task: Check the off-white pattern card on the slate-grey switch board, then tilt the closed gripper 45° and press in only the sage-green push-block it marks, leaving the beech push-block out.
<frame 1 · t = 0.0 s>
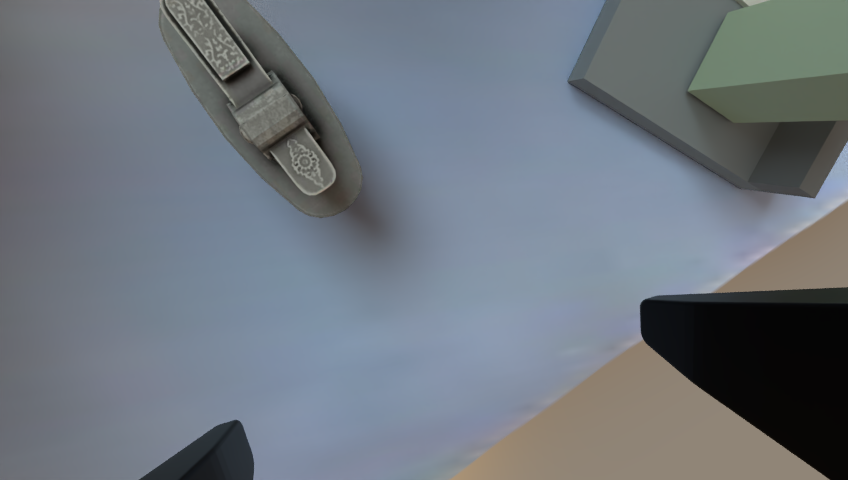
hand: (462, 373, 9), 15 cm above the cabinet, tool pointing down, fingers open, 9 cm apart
sage block: (818, 56, 20), point 6 cm above the cabinet, slide at 0.0 cm
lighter: (284, 116, 21), on the cabinet
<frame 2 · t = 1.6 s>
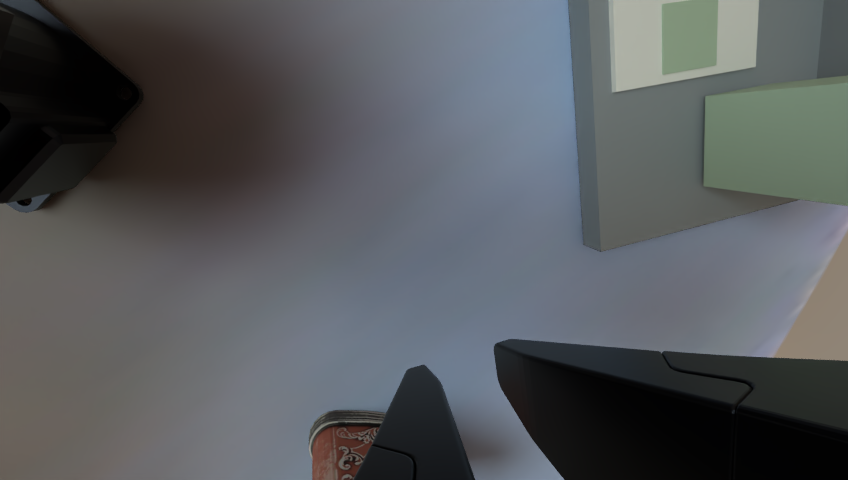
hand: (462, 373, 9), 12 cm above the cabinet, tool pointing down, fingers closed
sage block: (835, 136, 18), point 6 cm above the cabinet, slide at 0.0 cm
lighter: (382, 438, 23), on the cabinet
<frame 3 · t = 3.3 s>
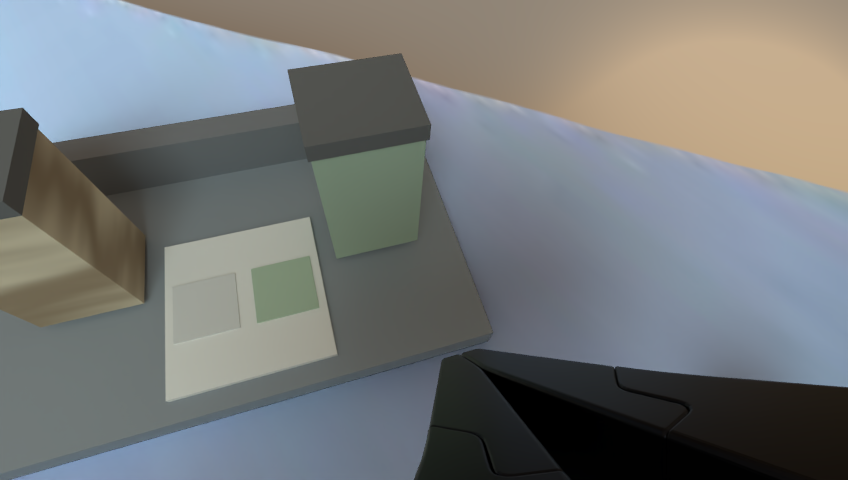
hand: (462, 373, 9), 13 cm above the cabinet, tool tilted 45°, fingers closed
switch board: (245, 219, 26), on the cabinet
sage block: (364, 169, 20), point 6 cm above the cabinet, slide at 0.0 cm
beech block: (31, 234, 18), point 6 cm above the cabinet, slide at 0.0 cm
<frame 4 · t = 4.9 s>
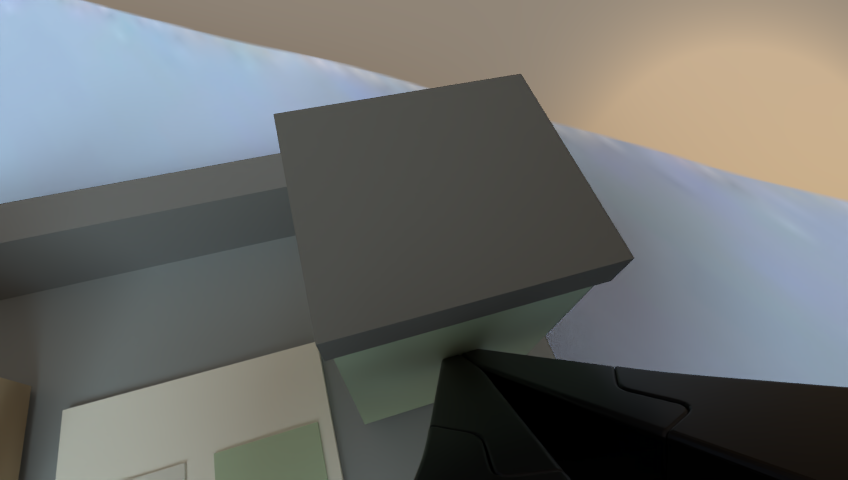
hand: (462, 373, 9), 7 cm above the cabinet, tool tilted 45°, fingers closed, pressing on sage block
switch board: (213, 332, 16), on the cabinet
sage block: (424, 290, 11), point 6 cm above the cabinet, slide at 0.0 cm, touching gripper
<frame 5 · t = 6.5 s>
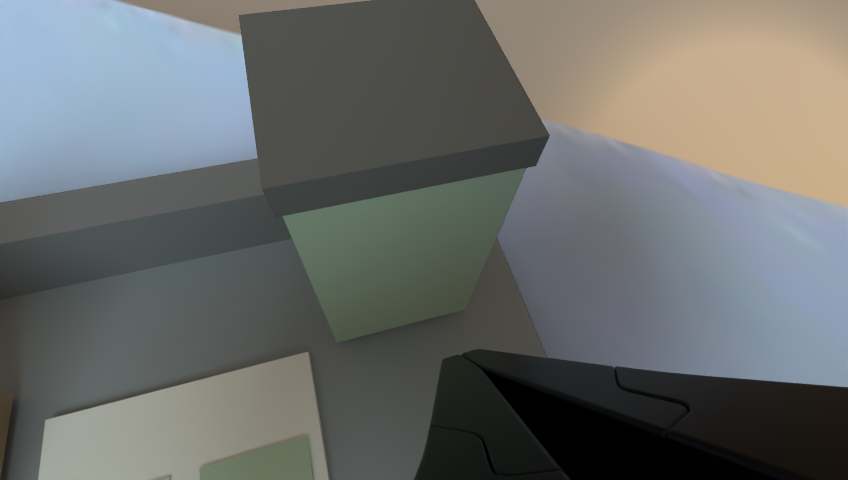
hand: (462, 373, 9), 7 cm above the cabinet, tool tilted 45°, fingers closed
switch board: (203, 338, 16), on the cabinet
sage block: (387, 206, 11), point 6 cm above the cabinet, slide at 3.0 cm
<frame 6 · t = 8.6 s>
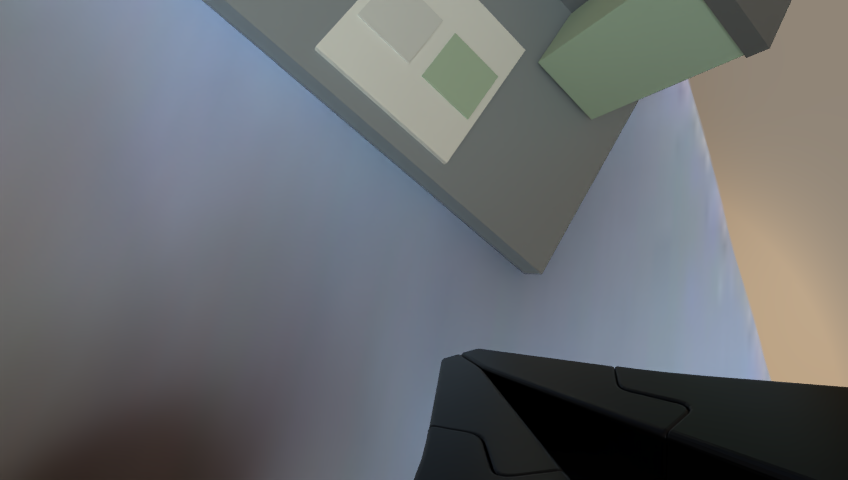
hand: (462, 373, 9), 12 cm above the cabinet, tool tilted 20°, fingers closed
sage block: (650, 26, 20), point 6 cm above the cabinet, slide at 3.0 cm
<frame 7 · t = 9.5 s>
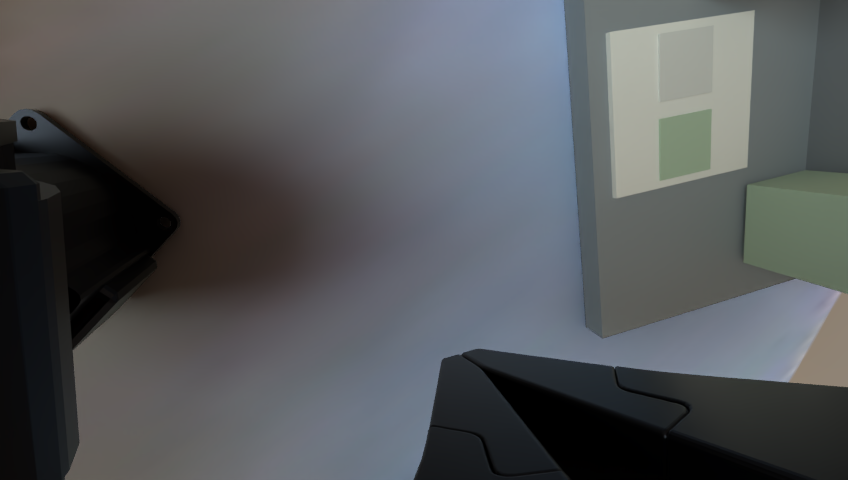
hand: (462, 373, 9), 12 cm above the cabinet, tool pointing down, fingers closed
switch board: (748, 89, 24), on the cabinet
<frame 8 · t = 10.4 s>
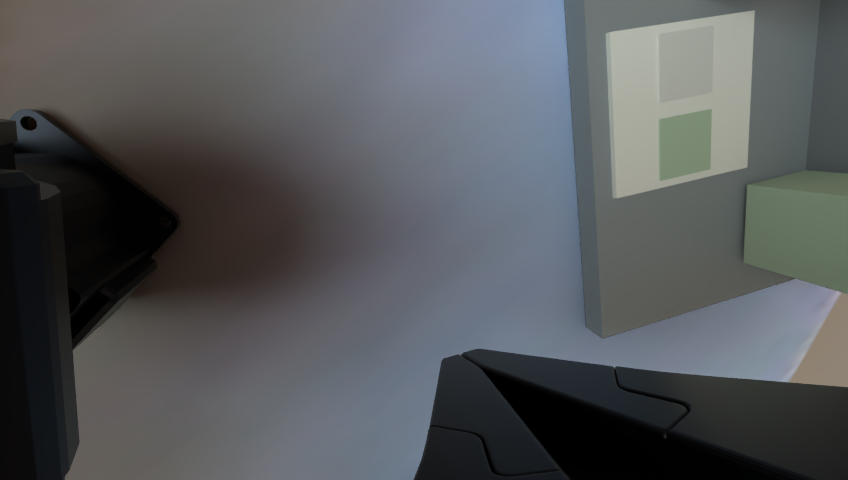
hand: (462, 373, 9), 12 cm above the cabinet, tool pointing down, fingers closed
switch board: (748, 89, 24), on the cabinet
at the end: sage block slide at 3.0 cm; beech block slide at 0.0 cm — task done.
